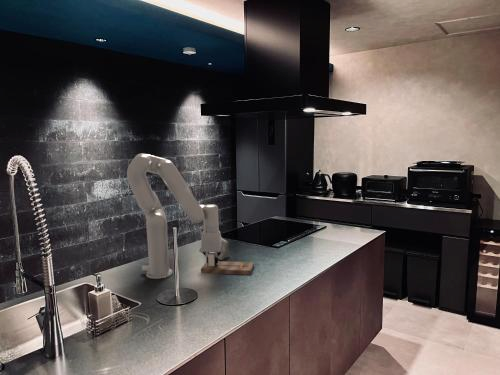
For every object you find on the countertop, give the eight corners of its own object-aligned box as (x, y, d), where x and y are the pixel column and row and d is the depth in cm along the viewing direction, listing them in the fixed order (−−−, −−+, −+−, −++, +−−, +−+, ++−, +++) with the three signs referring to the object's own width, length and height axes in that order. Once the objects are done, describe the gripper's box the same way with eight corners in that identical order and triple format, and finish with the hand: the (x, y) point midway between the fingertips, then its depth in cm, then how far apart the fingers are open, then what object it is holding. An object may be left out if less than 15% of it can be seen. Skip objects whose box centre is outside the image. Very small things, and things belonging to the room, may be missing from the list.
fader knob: (208, 266, 193) (207, 254, 192) (210, 262, 198) (210, 251, 197) (214, 266, 192) (213, 254, 191) (216, 263, 197) (216, 251, 196)
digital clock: (209, 252, 222) (208, 235, 220) (224, 251, 224) (224, 233, 222) (214, 261, 206) (214, 242, 205) (231, 260, 209) (230, 241, 207)
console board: (201, 272, 190) (200, 268, 190) (206, 264, 202) (206, 260, 201) (250, 274, 187) (250, 270, 186) (253, 266, 198) (253, 262, 198)
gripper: (193, 230, 190) (194, 266, 192) (225, 231, 187) (226, 267, 190) (197, 227, 197) (198, 261, 200) (228, 227, 195) (229, 262, 197)
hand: (212, 263), depth 195 cm, fingers closed on fader knob, 3 cm apart
